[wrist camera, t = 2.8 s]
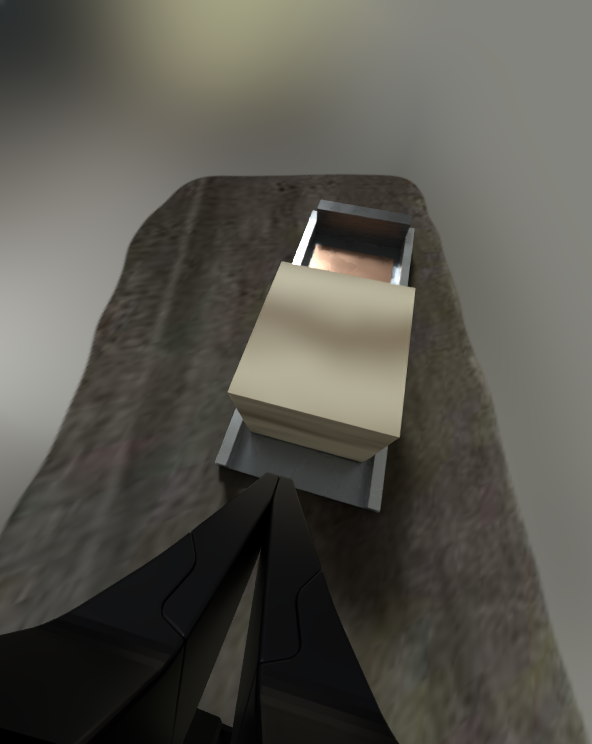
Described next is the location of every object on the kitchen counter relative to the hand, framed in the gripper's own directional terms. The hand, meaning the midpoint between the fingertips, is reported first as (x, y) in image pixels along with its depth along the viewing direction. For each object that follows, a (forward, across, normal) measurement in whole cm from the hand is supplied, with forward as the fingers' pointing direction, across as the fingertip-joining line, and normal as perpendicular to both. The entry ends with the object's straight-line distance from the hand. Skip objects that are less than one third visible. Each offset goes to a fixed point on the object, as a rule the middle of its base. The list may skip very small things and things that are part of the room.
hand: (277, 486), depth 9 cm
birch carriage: (+15, -1, +2) cm, 15 cm away
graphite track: (+20, -1, -2) cm, 20 cm away
